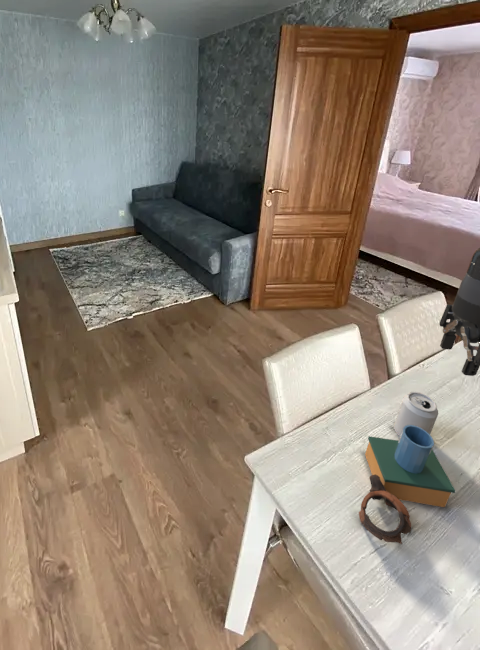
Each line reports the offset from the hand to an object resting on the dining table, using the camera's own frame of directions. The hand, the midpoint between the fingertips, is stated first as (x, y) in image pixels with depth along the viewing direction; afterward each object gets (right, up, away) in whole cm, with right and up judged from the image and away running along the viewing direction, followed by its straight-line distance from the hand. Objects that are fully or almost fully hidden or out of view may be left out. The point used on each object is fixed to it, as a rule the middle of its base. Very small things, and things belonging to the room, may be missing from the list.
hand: (455, 360), depth 76 cm
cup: (-10, -23, +1) cm, 25 cm away
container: (-10, -29, +4) cm, 31 cm away
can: (0, -25, +14) cm, 29 cm away
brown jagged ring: (-19, -32, -4) cm, 37 cm away
